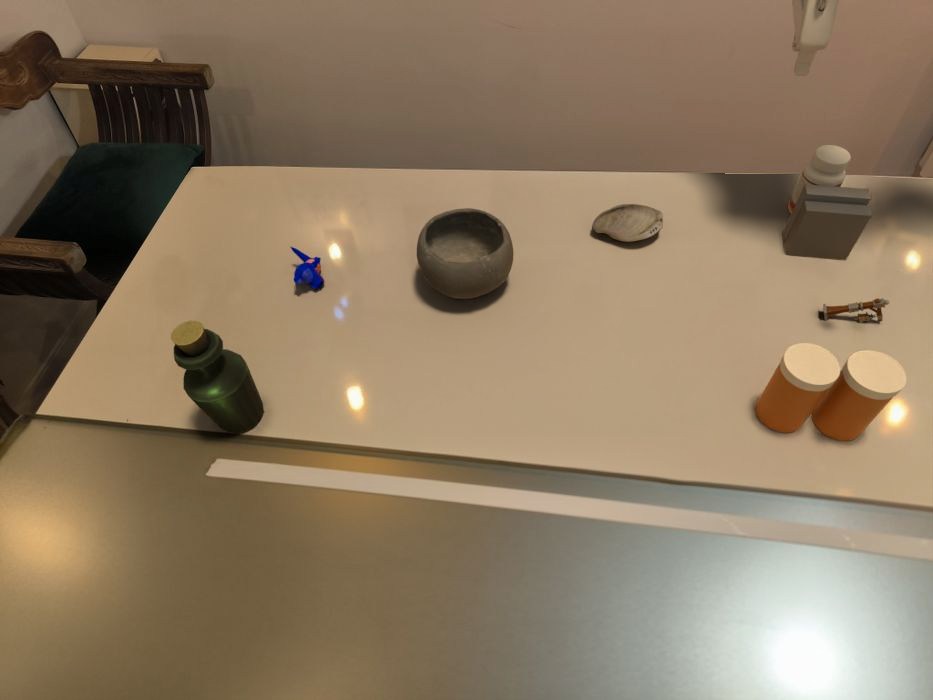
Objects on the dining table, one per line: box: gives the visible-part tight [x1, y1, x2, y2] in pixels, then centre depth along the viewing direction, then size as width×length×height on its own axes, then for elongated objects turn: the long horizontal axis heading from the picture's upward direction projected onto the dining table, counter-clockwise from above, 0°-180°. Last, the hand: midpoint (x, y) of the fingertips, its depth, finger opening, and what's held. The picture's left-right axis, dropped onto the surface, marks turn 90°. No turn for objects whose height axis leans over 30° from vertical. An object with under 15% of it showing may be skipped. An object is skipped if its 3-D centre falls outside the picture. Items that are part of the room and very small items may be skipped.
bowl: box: [416, 207, 514, 300], centre depth 95 cm, size 15×15×10 cm
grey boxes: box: [781, 184, 873, 261], centre depth 95 cm, size 5×9×10 cm, turn 78°
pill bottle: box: [787, 144, 852, 215], centre depth 100 cm, size 6×6×11 cm
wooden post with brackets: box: [822, 297, 890, 323], centre depth 88 cm, size 2×8×4 cm, turn 77°
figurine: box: [290, 246, 325, 290], centre depth 99 cm, size 5×8×5 cm, turn 12°
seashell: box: [591, 203, 664, 243], centre depth 101 cm, size 12×8×5 cm
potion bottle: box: [170, 319, 265, 434], centre depth 78 cm, size 8×8×18 cm
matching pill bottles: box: [755, 342, 907, 442], centre depth 75 cm, size 6×13×11 cm, turn 78°
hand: (799, 61), depth 87 cm, fingers open, 8 cm apart
